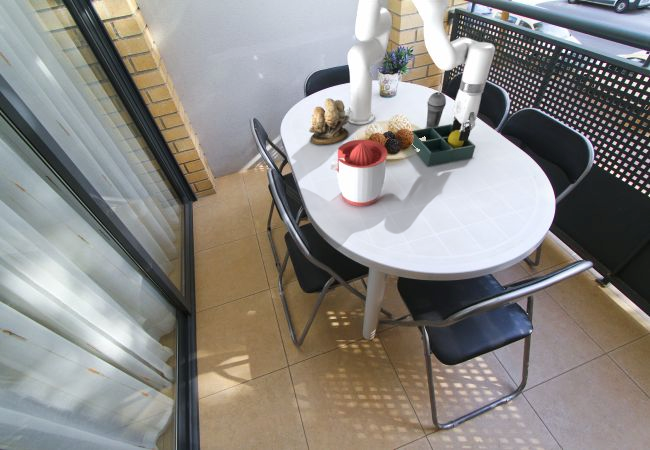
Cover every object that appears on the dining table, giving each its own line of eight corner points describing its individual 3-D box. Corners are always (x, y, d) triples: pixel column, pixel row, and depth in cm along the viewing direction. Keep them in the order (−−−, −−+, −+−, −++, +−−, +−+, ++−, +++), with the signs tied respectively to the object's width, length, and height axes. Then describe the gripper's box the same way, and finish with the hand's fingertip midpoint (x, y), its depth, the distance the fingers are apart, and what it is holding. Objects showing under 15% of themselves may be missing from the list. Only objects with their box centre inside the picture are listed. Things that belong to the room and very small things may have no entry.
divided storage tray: (428, 166, 117) (430, 154, 113) (408, 142, 130) (410, 131, 126) (471, 158, 119) (475, 145, 115) (448, 135, 132) (451, 123, 128)
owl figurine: (342, 126, 143) (341, 88, 131) (355, 137, 135) (355, 98, 123) (306, 136, 138) (301, 98, 126) (317, 149, 131) (313, 109, 118)
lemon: (454, 154, 118) (456, 133, 114) (444, 150, 122) (445, 130, 118) (465, 150, 120) (468, 129, 115) (454, 147, 124) (456, 126, 120)
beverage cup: (439, 124, 138) (448, 77, 124) (441, 133, 133) (452, 84, 119) (422, 125, 139) (429, 78, 125) (424, 133, 134) (432, 85, 120)
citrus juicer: (332, 182, 114) (330, 131, 100) (381, 181, 113) (385, 129, 98) (332, 211, 103) (329, 159, 89) (386, 210, 101) (391, 156, 87)
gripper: (452, 77, 110) (441, 124, 122) (470, 97, 98) (457, 148, 110) (473, 75, 110) (461, 123, 122) (495, 95, 97) (478, 146, 110)
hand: (459, 134), depth 116 cm, fingers open, 6 cm apart
